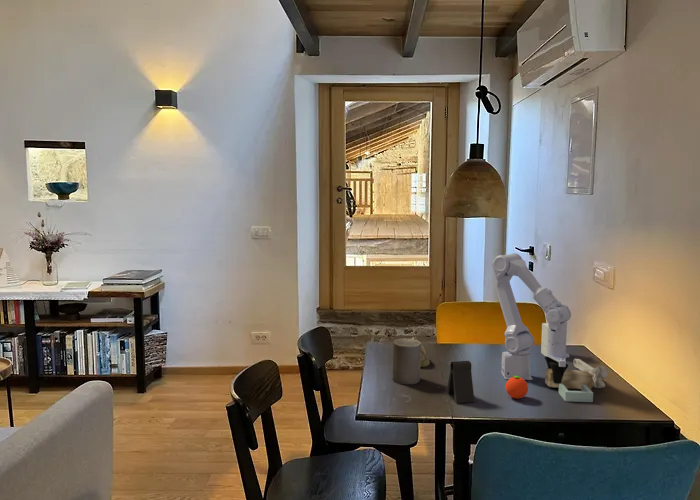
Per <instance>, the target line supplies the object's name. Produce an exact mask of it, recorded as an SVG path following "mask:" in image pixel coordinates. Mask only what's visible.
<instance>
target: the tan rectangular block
mask: <svg viewBox="0 0 700 500" xmlns="http://www.w3.org/2000/svg"><path fill="white" fill-rule="evenodd" d="M592 378H593V375H592V374H591V373H589V372H588V371H581V370H579V369H578V370H576V369H566V371H565V372H564V375H563V378H562V381H561V384H563V385H564V386H565V387H566V388H567V389H574V390H575V389H577V390H581V388H582V385H586V386H587V387H588V388H589V389H590V390H591V391H592V387H593V386H592V384H593V379H592ZM544 383H545V384H546V386H548V387H549V388H558V389H559V384H557V383H554V381H553V373H552V369H548V367H547V368H546V372H545V380H544Z"/></svg>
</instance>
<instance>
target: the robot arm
mask: <svg viewBox="0 0 700 500" xmlns="http://www.w3.org/2000/svg"><path fill="white" fill-rule="evenodd" d="M491 268H492V271H493V272H492V273H493V274H492V282H493V285H494V289H495V292H496V294H497V299H498V301H499V305H500V308H501V310H502V312H501V313H502V314H503V319H504V321H505V324H506V329H505V332H504V334H503V335H504V338H505V339H504V345H505V349H506V350H507V351H502V353H501V354H502V355H501V371H500V372H501V375H502V376H503V378H504V379H505V380H509V379H510V378H512V377H513V376H519V377H521V378H523V379H524V380H525V381H533V378H532V376H531V374H530V361H531V359H530V357H531V349H532V348H533V347H534V345H535V338H534V336H533V335H532V334H531V332H530V330H529V327H527V326H526V325H525V324H524V323H523V321H522V316H521V314H520V311H519V308H518V304H517V301H516V298H515V295H514V293H513V289H512V286H511V282H510V281H511V280H512V279H513V276H514V277H518V278H519V279H520V280H521V282H522V283H524V284H525V286H526V287H528V289H529V290H530V291H531V293H533V300H534V301H535V302H536V303H537V305H538V306H539V307H540V308H541V310H543V312H544V313H545V315H544V316H545V319H546V321H547V323H548V327H549V331H548V351H547V356H546V357H545V356H544V360H545V361H546V365H547V368H548V369H552V373H553V381H554V383H557V384H561V381H562V378H563V375H564V372H565V371H566V370H568V368H569V364H568V363H567V361H566V360H567V358H570V355H569V354H568V353H567V352H566V351H567V336H568V335H567V333H568V321H570V320H571V316H572V315H571V314H572V313H571V310H570V309H569V306H568V305H566V304H563V303H562V302H561V301H559V300H558V299H557V298H556V297H555V296H554V294H553V291H552V290H551V289H549V288H548V287H542V285H541V284H540V282H539V281H538V280H537V278H536V277H535V276H534V275H533V273H532V271H530V269H529V268H528V266H527V262H526V260H524V259H523V258H522V256H521V255H520V254H518V253H516V252H515V253H510V254H500V255H497V256H496V257H495V258H494V259H493V262H492V263H491Z"/></svg>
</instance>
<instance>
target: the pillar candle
mask: <svg viewBox="0 0 700 500" xmlns="http://www.w3.org/2000/svg"><path fill="white" fill-rule="evenodd" d="M392 345H393V346H392V347H393V349H392V350H393V351H392V381H393V382H395V383H396V384H400V385H406V386H407V385H409V384H410V385H416V384H418V383H420V382H421V367H420V351H421V345H422V343H421V341H419V340H418V339H417V340H414V339H412V338H405V337H404V338H397V339H395V340H393V344H392Z"/></svg>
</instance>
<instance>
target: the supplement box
mask: <svg viewBox="0 0 700 500" xmlns="http://www.w3.org/2000/svg"><path fill="white" fill-rule="evenodd" d="M548 331H549V327H548V322H542V323H541V342H540V344H541V346H540V347H541V348H540V353H541V354H542V355H543V356H544V357H545V356H547V351H548Z"/></svg>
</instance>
